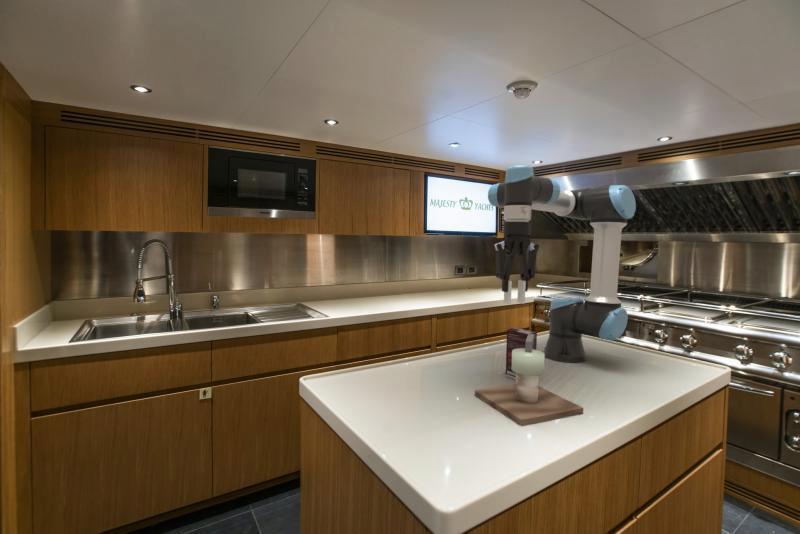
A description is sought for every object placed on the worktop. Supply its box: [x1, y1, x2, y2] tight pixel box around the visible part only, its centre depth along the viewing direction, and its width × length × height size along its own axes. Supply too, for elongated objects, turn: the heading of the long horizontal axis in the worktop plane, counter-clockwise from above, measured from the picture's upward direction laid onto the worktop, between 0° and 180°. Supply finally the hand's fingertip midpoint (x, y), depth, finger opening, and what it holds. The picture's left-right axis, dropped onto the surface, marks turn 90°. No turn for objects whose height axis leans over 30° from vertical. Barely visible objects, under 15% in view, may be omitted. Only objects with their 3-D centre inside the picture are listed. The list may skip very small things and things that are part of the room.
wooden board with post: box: [474, 373, 584, 427], centre depth 107 cm, size 20×20×9 cm
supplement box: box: [505, 327, 538, 381], centre depth 127 cm, size 9×5×16 cm, turn 35°
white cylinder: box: [511, 334, 546, 377], centre depth 109 cm, size 14×8×8 cm, turn 158°
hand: (514, 302), depth 113 cm, fingers open, 4 cm apart
